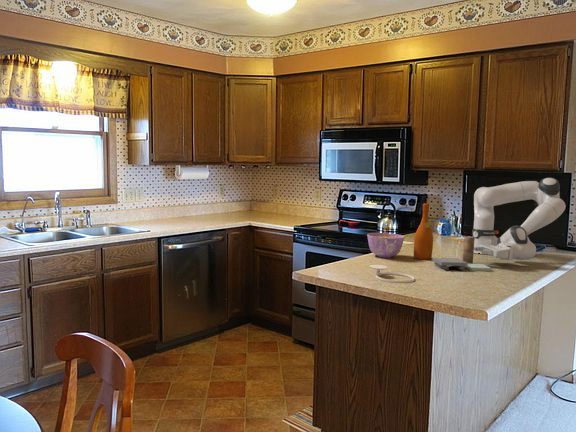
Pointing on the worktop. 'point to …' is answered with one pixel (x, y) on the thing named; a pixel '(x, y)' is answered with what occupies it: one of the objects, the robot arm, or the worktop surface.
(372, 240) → the bowl of food
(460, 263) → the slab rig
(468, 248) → the walnut roller
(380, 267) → the hand towel holder
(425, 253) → the wine bottle
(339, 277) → the worktop surface
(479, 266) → the board
